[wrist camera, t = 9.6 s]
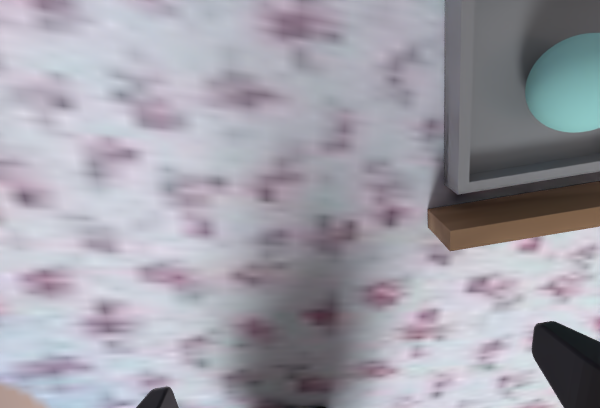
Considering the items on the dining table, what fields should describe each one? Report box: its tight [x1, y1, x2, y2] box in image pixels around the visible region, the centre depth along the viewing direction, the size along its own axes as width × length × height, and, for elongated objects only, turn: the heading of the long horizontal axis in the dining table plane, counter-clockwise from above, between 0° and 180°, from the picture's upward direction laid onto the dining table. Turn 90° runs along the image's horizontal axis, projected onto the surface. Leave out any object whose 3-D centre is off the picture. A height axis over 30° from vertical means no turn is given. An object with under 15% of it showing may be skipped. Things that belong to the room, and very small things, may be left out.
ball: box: [525, 33, 600, 133], centre depth 17 cm, size 4×4×4 cm
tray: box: [444, 0, 600, 194], centre depth 19 cm, size 10×10×2 cm
